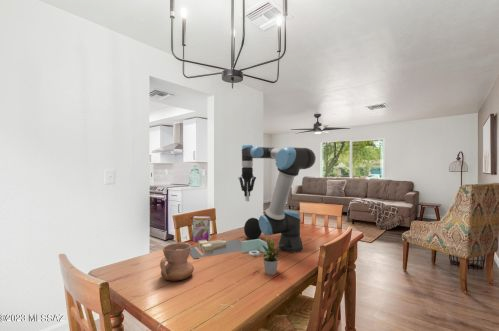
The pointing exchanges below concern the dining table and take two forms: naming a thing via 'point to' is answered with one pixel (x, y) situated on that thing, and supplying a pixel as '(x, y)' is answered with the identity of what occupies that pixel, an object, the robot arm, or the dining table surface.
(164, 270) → the ceramic jug
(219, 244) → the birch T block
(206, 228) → the candy bar box
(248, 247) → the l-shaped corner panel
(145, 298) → the dining table surface
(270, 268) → the house plant
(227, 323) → the dining table surface
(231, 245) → the board
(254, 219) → the decorative egg
